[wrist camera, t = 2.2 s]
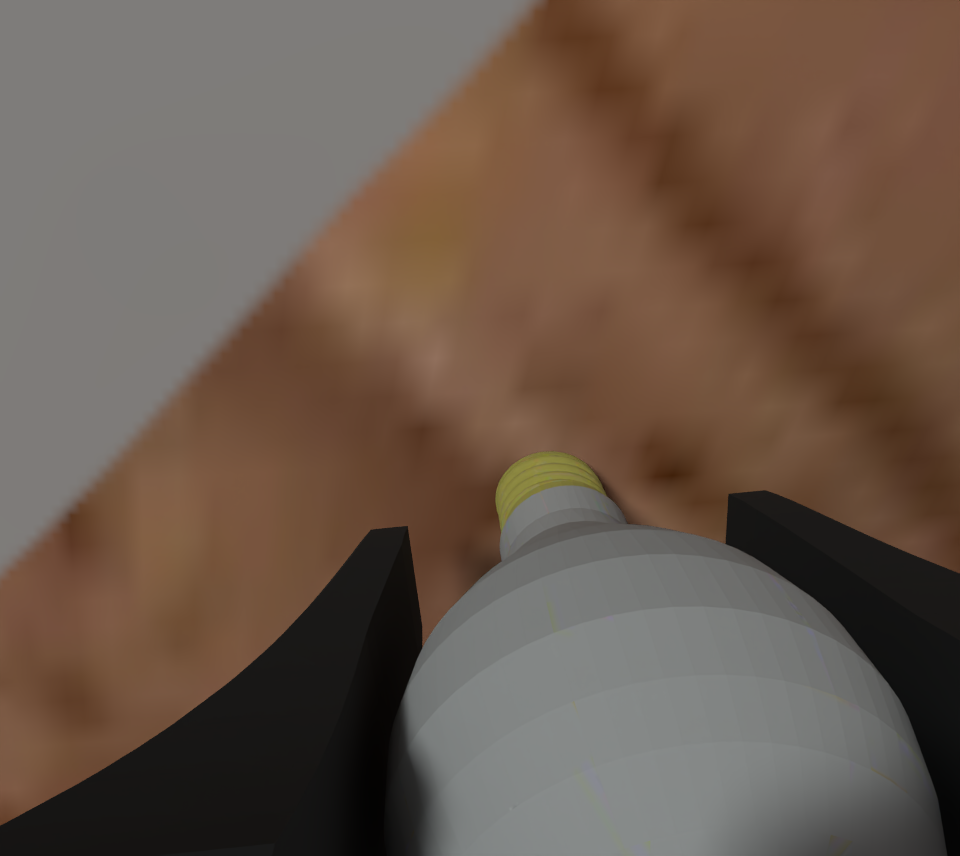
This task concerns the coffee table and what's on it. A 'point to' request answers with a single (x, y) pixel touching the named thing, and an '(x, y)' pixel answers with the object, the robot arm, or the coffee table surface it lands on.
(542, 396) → the coffee table surface
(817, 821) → the light bulb
